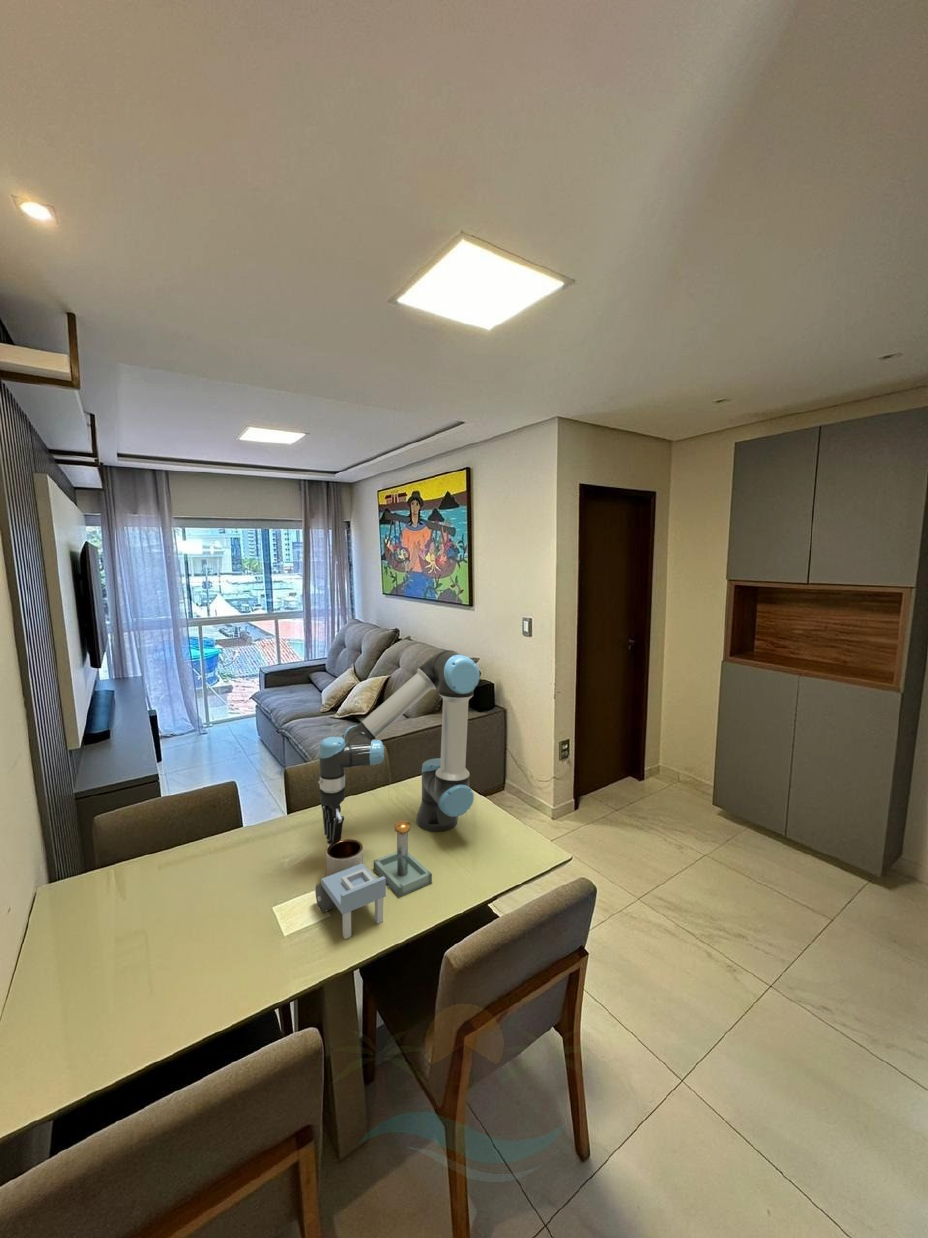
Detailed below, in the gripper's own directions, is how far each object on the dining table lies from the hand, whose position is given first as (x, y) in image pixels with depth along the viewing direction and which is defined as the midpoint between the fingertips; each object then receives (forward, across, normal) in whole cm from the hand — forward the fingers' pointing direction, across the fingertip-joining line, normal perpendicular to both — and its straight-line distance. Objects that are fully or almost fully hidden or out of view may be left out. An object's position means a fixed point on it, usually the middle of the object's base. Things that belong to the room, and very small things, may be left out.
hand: (332, 859), depth 154 cm
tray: (+1, +18, +15) cm, 23 cm away
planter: (+2, +9, 0) cm, 9 cm away
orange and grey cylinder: (0, +18, +15) cm, 23 cm away
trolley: (+1, +24, -4) cm, 24 cm away
